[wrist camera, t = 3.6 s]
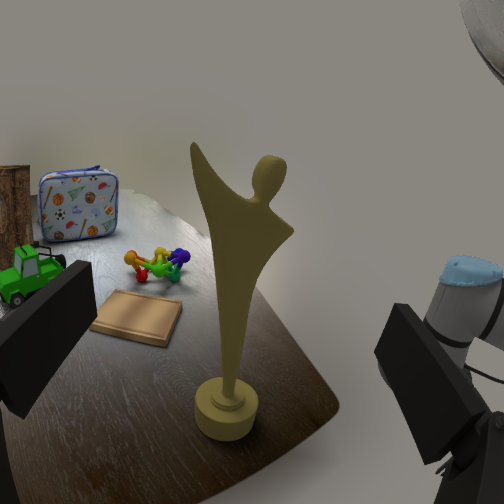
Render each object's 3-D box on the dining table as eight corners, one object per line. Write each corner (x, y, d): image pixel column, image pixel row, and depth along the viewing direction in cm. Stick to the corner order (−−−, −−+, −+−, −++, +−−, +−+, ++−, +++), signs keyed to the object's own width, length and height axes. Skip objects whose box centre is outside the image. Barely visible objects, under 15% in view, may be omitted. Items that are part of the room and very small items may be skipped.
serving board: (182, 307, 52) (182, 300, 52) (165, 347, 41) (165, 339, 41) (116, 295, 52) (115, 288, 51) (89, 329, 41) (87, 321, 40)
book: (40, 270, 54) (33, 164, 45) (26, 279, 49) (15, 168, 40) (5, 258, 54) (-3, 165, 45) (-8, 266, 49) (-18, 169, 40)
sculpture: (240, 385, 36) (279, 152, 26) (275, 419, 31) (342, 164, 21) (168, 414, 29) (169, 140, 19) (200, 458, 24) (222, 144, 14)
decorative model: (129, 248, 64) (188, 236, 67) (137, 283, 66) (196, 271, 68) (114, 256, 51) (186, 241, 54) (125, 298, 53) (195, 284, 55)
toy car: (-2, 296, 40) (-12, 252, 36) (59, 273, 54) (54, 232, 51) (7, 315, 36) (-6, 266, 33) (74, 287, 51) (69, 242, 47)
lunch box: (115, 226, 89) (117, 162, 82) (123, 236, 82) (125, 165, 75) (40, 236, 71) (37, 167, 64) (40, 248, 64) (36, 171, 57)
